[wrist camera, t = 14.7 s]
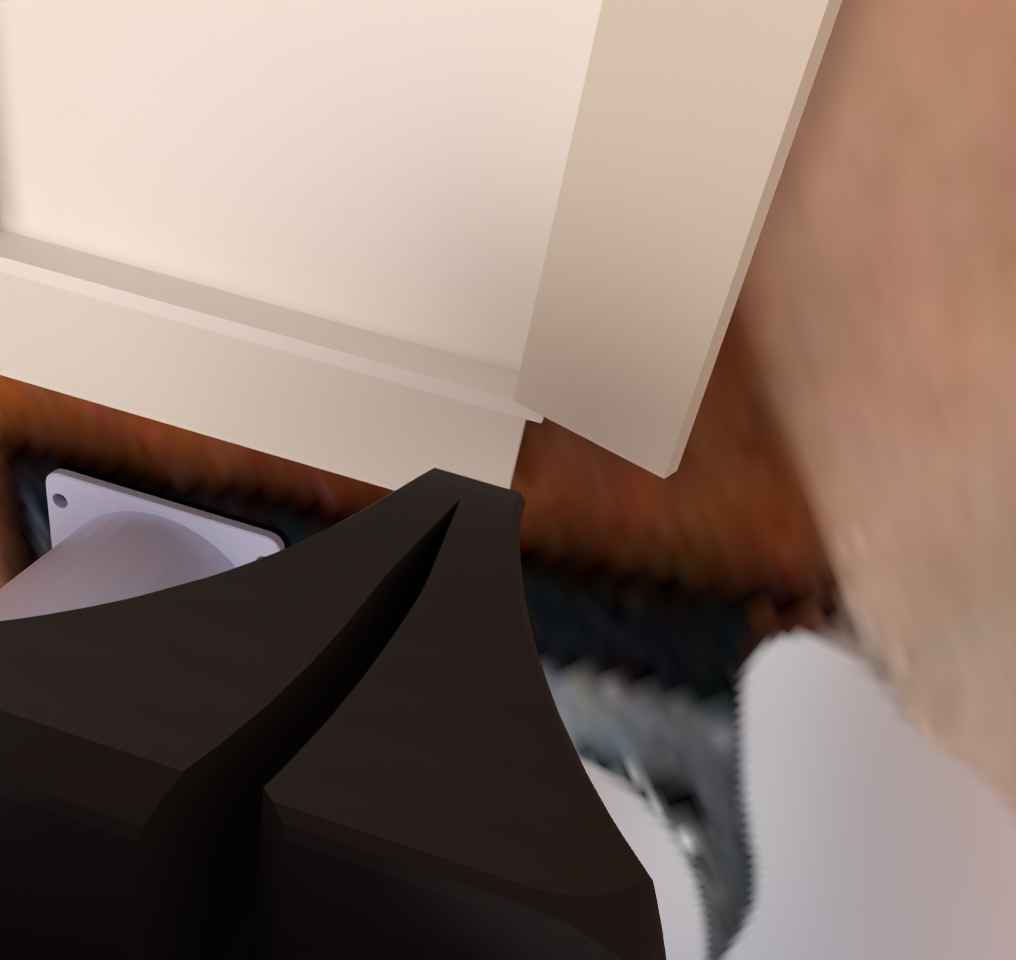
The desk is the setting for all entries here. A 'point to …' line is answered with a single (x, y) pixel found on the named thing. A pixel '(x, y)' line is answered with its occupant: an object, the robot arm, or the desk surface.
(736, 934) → the desk surface
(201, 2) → the carton
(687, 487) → the desk surface
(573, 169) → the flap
